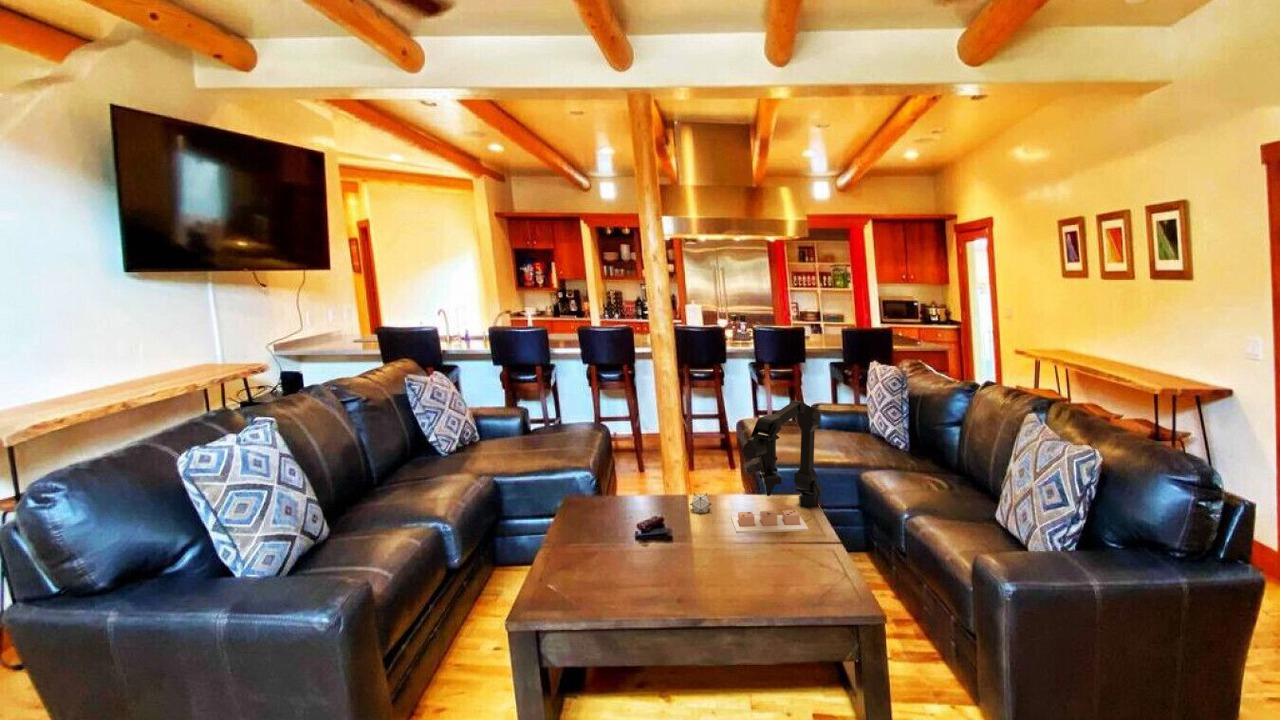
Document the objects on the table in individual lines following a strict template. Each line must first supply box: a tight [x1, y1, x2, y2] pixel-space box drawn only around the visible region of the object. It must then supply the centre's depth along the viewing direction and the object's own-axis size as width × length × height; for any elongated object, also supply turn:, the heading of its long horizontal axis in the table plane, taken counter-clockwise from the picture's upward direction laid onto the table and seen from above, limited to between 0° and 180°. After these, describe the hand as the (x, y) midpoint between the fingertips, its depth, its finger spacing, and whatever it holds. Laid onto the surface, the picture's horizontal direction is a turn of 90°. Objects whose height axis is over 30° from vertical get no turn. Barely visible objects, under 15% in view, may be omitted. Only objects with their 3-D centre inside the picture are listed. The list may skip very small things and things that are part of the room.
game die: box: [689, 492, 713, 514], centre depth 231 cm, size 9×8×10 cm
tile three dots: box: [782, 509, 801, 525], centre depth 216 cm, size 5×5×4 cm
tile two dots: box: [737, 511, 755, 527], centre depth 216 cm, size 5×5×4 cm
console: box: [730, 514, 810, 534], centre depth 216 cm, size 25×13×2 cm, turn 89°
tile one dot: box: [759, 510, 778, 526], centre depth 216 cm, size 5×5×4 cm
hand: (768, 495), depth 215 cm, fingers closed
